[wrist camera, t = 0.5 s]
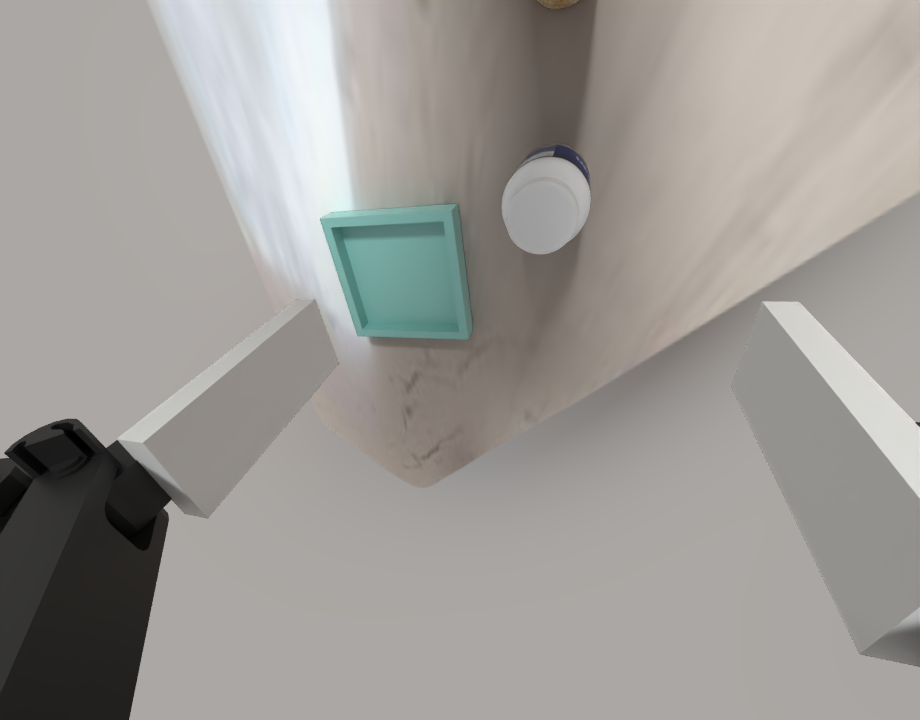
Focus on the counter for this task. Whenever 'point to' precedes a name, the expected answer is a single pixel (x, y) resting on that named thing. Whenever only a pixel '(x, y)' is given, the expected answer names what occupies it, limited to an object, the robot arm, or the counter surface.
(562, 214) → the pill bottle
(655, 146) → the counter surface
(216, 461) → the robot arm
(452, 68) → the counter surface
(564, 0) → the sprinkles bottle
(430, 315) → the tray
